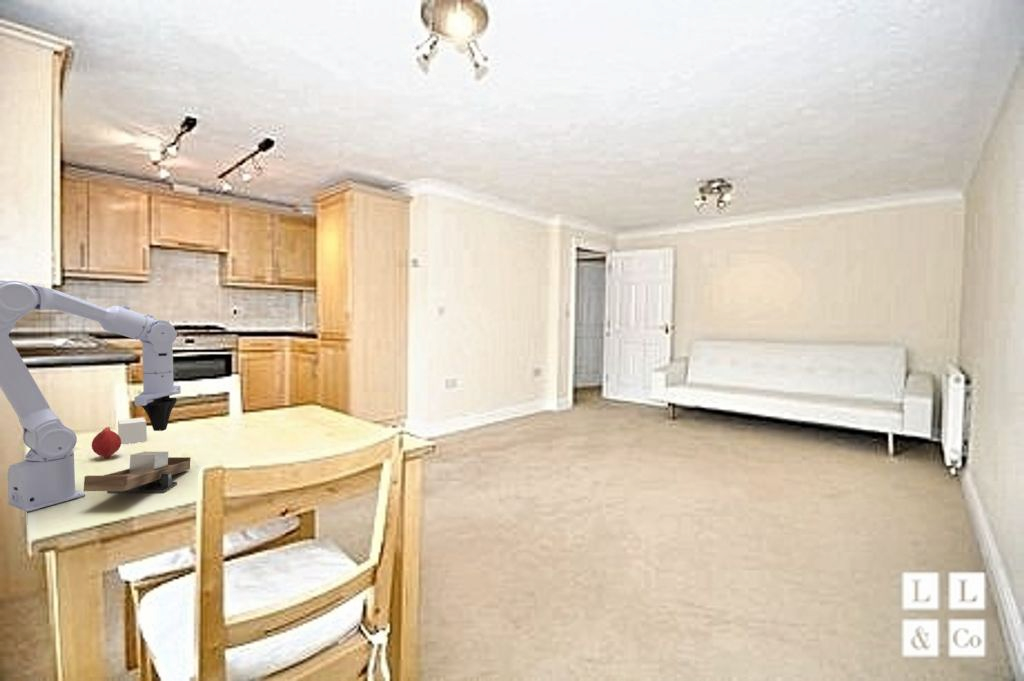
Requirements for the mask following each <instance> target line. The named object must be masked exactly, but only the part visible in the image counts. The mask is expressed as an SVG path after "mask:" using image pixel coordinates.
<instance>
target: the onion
mask: <svg viewBox="0 0 1024 681" xmlns="http://www.w3.org/2000/svg"><path fill="white" fill-rule="evenodd" d="M121 446H122V445H121V438H120V437H119V435H118V433H116V432H114V431H113V430H111V427H110V426H106V427H104V428H103V429H102V431H100V432H98V433H97V434H96V435H95V436H94V438H93V440H92V442H91V449H92V452H94V453H95V454H96V455H98V456H100V457H101V458H105V459H109V458H111V457H112V456H113V455H114V454H115V453H117V452H118V450H120V448H121Z"/></svg>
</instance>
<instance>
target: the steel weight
mask: <svg viewBox="0 0 1024 681" xmlns="http://www.w3.org/2000/svg"><path fill="white" fill-rule="evenodd" d="M168 457H169V451H142V452H137V453H132V454H130V456H129V468H128V469H129V474H145V473H148V472H151V471H155V470H158V469H162V468H165V467H167V466H168Z"/></svg>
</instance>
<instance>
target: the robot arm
mask: <svg viewBox="0 0 1024 681" xmlns="http://www.w3.org/2000/svg"><path fill="white" fill-rule="evenodd" d="M33 310H37V311H43V310H44V311H45V310H57V311H61V312H64V313H67V314H71V315H76V316H79V317H82V318H85V319H89V320H92V321H95V322H99V325H100V326H101V328H102V329H103V330H104V331H107V332H111V333H113V334H117V335H120V336H124V337H127V338H130V339H134V340H136V341H137V340H139V341H140V342H141V344H142V353H141V354H142V358H141V359H142V383H143V384H142V386H143V388H142V389H143V391H142V392H141V393H139V394H137V395H136V396H134V398H133V399H134V406H139V407H140V406H141V407H142V408H143V410H144V411H145V412H146V414H147V416H148V418H149V421H150V424H151V427H152V429H153V431H154V432H163V431H165V430H167V427H168V424H169V420H170V416H171V412H172V410H173V408H174V406H175V405H176V404H177V400H178V399H177V397H170V396H174V395H179V394H181V385H174V352H173V343H174V342H175V341H176V339H177V337H178V332H177V331H176V329H175V327H174V325H172V323H170V322H169V321H166V320H159V319H156V318H154V317H155V316H154V315H153V314H150V313H148V314H143V313H140V312H137V311H135V310H133V309H132V310H131V306H128V305H127V304H126V305H125V304H122V305H121V306H120V305H111V306H109V307H104V306H101V305H99V304H95V303H92V302H90V301H87V300H84V299H82V298H79V297H76V296H73V295H71V294H67V293H65V292H63V291H59V290H57V289H53V288H49V287H45V286H41V285H35V284H28V283H27V282H23V281H20V280H0V390H1V391H2V392H3V394H4V396H5V397H6V399H7V400H8V403H9V404H10V405H11V407H12V409H13V411H14V413H15V414H16V415H17V417H18V422H19V424H20V426H21V428H22V432H23V433H22V440H23V443H24V445H25V446H26V447H28V448H29V450H28V452H27V453H26V454H25V457H24V458H25V459H23V460H22V461H20V462H16V463H12V464H11V465H10V466H9V467H8V471H7V491H8V492H7V495H8V501H7V502H6V505H8V506H11V507H13V508H17V509H19V510H20V511H21V510H22V511H24V512H31V511H36V510H38V509H42V508H45V507H50V506H53V505H57V504H59V503H64V502H67V501H71V500H74V499H78V498H81V497H85V496H86V493H85V492H84V491H83V492H82V491H79V490H76V480H75V479H76V474H75V473H76V472H75V450H74V448H75V447H76V444H77V442H78V441H77V439H78V438H77V434H76V433H75V431H73V430H72V429H71V428H70V427H67V426H66V425H65V424H63V423H62V421H61V419H60V418H59V417H58V416H57V414H56V413H55V412H54V410H52V408H51V407H50V404H49V403H48V401H47V399H46V397H45V396H44V394H43V392H42V391H41V389H40V388H39V386H38V384H37V383H36V380H35V379H34V378H33V375H32V374H31V371H30V370H29V368H28V367H27V366H26V363H25V361H24V359H23V358H22V357H21V355H20V353H19V350H17V348H16V346H15V344H14V343H13V341H12V339H11V337H10V335H9V334H10V333H11V331H13V328H14V327H15V326H16V324H17V323H18V321H19V320H21V319H22V318H23V317H25V316H26V315H28V314H29V313H31V312H32V311H33Z"/></svg>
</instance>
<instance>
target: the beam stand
mask: <svg viewBox="0 0 1024 681" xmlns="http://www.w3.org/2000/svg"><path fill="white" fill-rule="evenodd" d="M160 480H161V481H153V482H150V483H147V484H144V485H141V486H137V487H134V488H131V489H128V490H125V491H106V493H107V494H165V493H166V492H168V491H170V490H171V489H173V488H174V487H176V486H177V485H178V482H177V481H173V475H172V472H164V473H162V474H161V479H160ZM175 485H176V486H175ZM170 488H171V489H170ZM167 490H168V491H167ZM164 492H165V493H164Z"/></svg>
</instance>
